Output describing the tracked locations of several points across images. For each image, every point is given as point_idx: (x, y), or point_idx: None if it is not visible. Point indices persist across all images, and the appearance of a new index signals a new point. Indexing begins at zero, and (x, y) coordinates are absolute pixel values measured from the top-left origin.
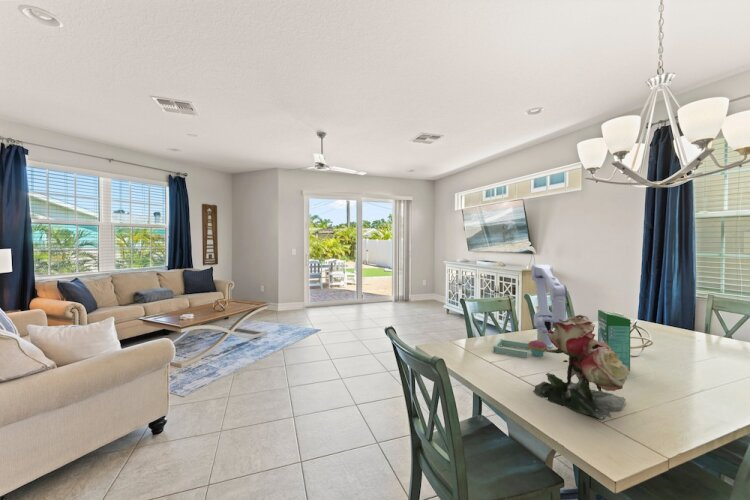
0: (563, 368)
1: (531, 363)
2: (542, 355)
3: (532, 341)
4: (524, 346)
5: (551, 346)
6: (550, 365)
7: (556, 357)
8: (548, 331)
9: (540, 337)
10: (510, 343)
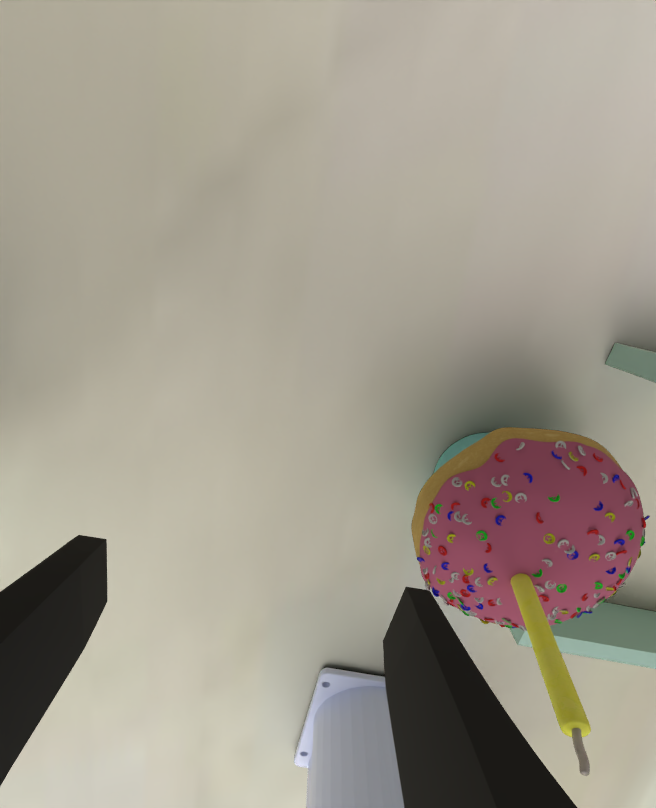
0: (286, 109)
1: (622, 166)
2: (440, 458)
3: (619, 565)
4: None
5: (323, 682)
6: (415, 171)
7: (315, 454)
8: (506, 727)
9: (544, 632)
10: None
